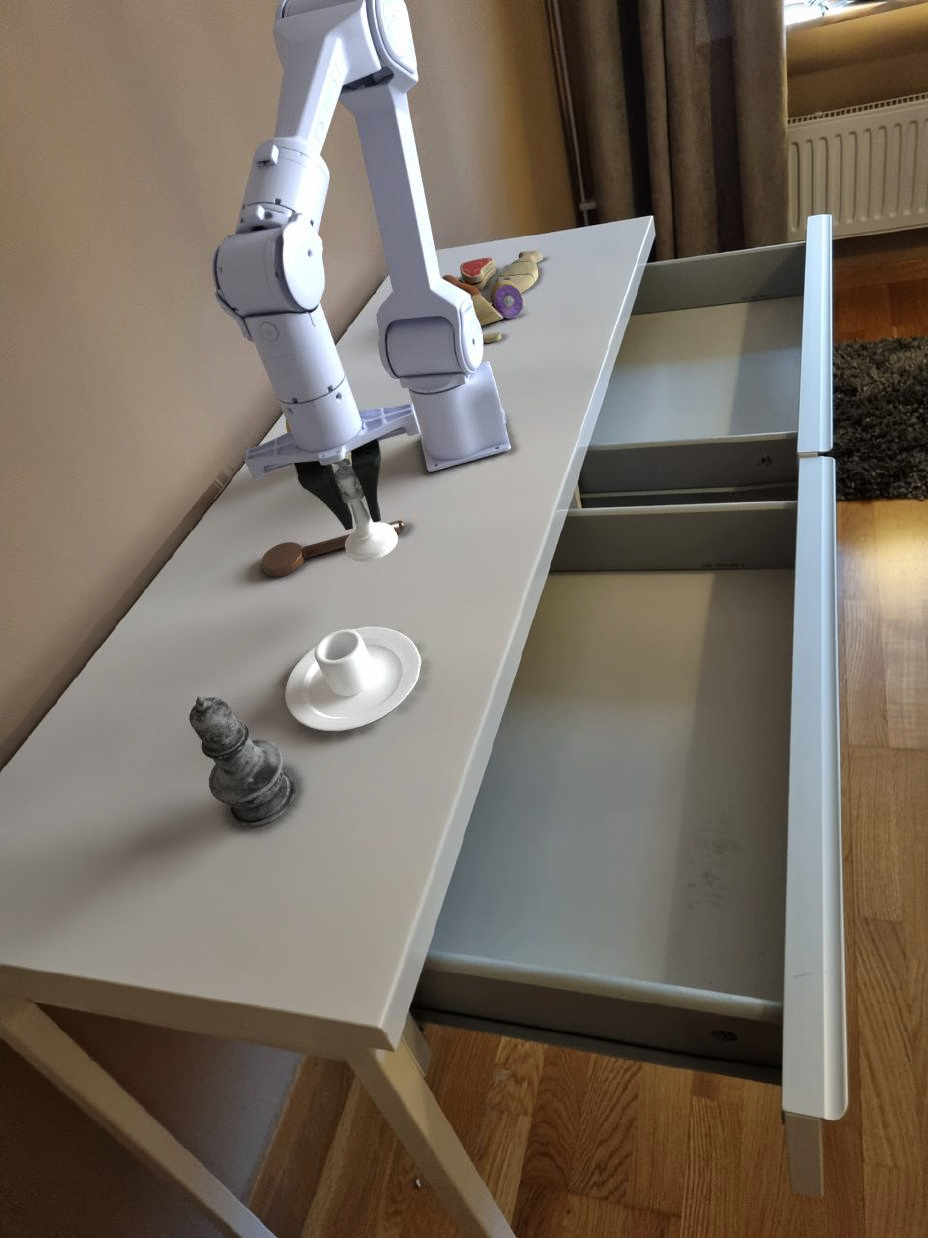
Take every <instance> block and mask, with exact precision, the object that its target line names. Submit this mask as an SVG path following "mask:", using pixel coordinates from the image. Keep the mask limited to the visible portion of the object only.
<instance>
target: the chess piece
mask: <svg viewBox="0 0 928 1238" xmlns="http://www.w3.org/2000/svg"><path fill="white" fill-rule="evenodd" d="M331 465H336V466H338V468H337V469H336V471H334V479H335V480H336V481H337V483H338V484H339V487H340V488H342V490H343V492H342V493H343V494H342V501H343V502H344V503H347V504H348V505H349V504H350V507H351V512H352V514H353V515H352V516H353V519H354V523H355V529H354V530H353V531H352V532H350V533H349V534H350V535H349V536H348V538H347V539H346V542H345V553H346V555H347V557H348V558H349V559H351V560H352V561H355V562H359V563H366V562H367V563H368V562H372V561H376V560H379V559H381V558H383V557H385V556H387V555H388V554H390V553H391V552H392V551H393V550H394V549H395V547H396V546H397V544H398V542H399V541H398V540H399V537H398V536H399V535H398V533H396V532H395V530H394V528H393V527H392V526H391V525H389V524H387V523H386V522H381V521H378V522H375V523H373V520H372V518H371V516H370V513H369V511H368V510H367V508H366V507H365V505H364V503H363V501H362V499H363V498H365V495H364V492H363V490H362V488H361V486H358V480H357V477H356V475H355V473H354V471H353V468H352V465H351V461H350V459H349V458H344V459H343V460H342V461H339V462H336V463H332V464H331Z"/></svg>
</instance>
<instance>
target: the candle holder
mask: <svg viewBox="0 0 928 1238" xmlns="http://www.w3.org/2000/svg"><path fill="white" fill-rule="evenodd" d="M421 665H422V658H421V656H420V653H419V651H418V648H417V646H416V645H415V644H414V642H413V641H412V640H411V639H410V638H409V637H408V636H406V635H405V634H404V633H402V632H400V631H398V630H395V629H392V628H388V627H382V626H363V627H357V628H350V629H338V630H335V631H333V632H330V633H328V634H326V635H325V636H324V637H322V638H321V639H320V640H319V641H318V642H317V644H316V645H315V646H314V647H312V648H311V649H310V650H309V651H307V653H305V654H304V655H303V656H302V657H301V658H300V660H299V661H298V662H297V663H296V665H295V666H294V667H293V669H292V670H291V673H290V674H289V677H288V679H287V683H286V687H285V695H284V696H285V703H286V707H287V709H288V710H289V713H290V714H291V715H292V717H293V718H295V720H296V721H298V722H299V723H300V724H302V725H304V726H306V727H308V728H311V729H313V730H318V731H324V732H340V731H348V730H353V729H356V728H357V729H358V728H360V727H363V726H366V725H369V724H371V723H373V722H375V721H377V720H379V719H382V718H383V717H384V716H386V715H388V714H389V713H390V712H391V711H393V710H395V709H396V708H397V707H398V706H399V705H400V704H401V703H402V702H404V700H405V699H406V698H407V696H408V695H409V694H410V693H411V692H412V690H413V688H414V687H415V685H416V683H418V680H419V676H420V669H421Z"/></svg>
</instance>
